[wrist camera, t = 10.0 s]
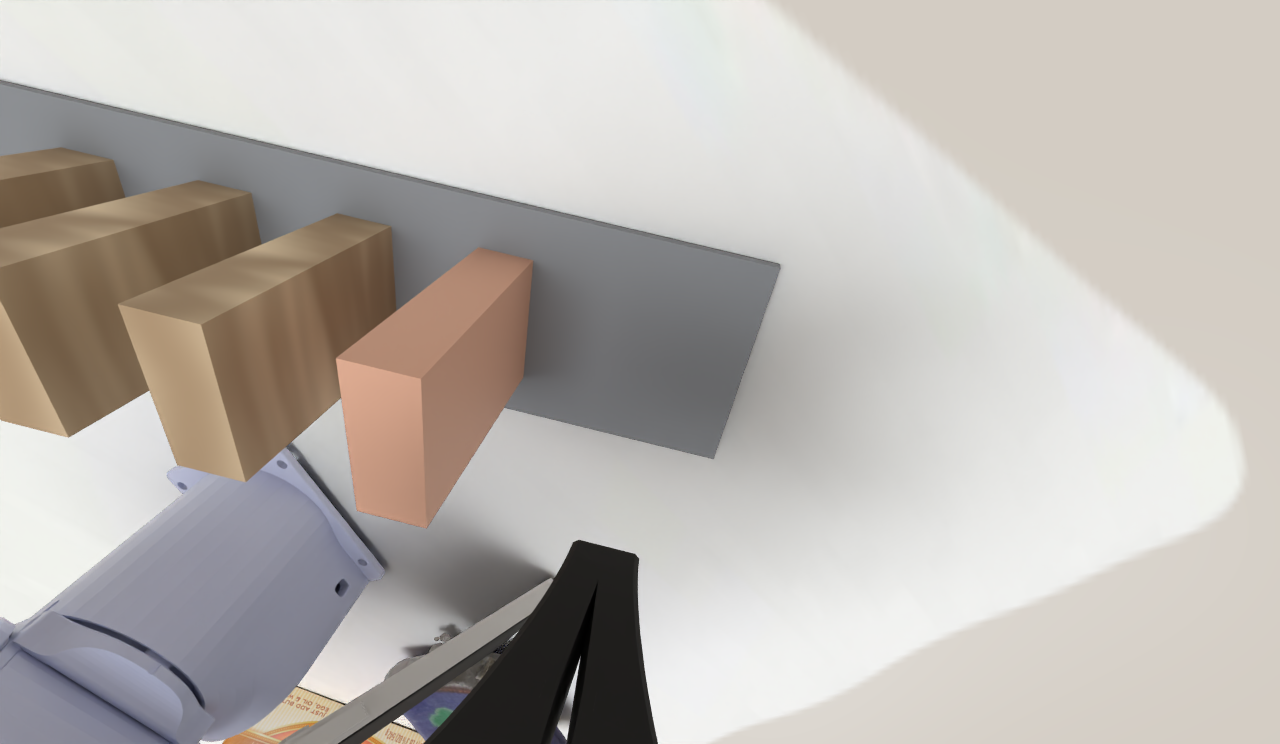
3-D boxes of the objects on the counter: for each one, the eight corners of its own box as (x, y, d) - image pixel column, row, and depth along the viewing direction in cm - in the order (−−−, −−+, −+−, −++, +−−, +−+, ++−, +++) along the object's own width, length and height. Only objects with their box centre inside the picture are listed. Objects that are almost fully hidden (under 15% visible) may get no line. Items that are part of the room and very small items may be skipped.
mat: (779, 264, 18) (780, 268, 18) (713, 453, 22) (713, 459, 22) (-153, 44, 19) (-169, 44, 19) (-36, 268, 23) (-48, 271, 23)
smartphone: (495, 650, 32) (174, 874, 19) (485, 632, 32) (163, 840, 20) (566, 591, 28) (219, 824, 16) (553, 570, 28) (205, 783, 16)
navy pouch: (440, 776, 35) (356, 673, 31) (461, 729, 38) (386, 628, 34) (565, 782, 33) (492, 670, 28) (579, 731, 35) (514, 621, 31)
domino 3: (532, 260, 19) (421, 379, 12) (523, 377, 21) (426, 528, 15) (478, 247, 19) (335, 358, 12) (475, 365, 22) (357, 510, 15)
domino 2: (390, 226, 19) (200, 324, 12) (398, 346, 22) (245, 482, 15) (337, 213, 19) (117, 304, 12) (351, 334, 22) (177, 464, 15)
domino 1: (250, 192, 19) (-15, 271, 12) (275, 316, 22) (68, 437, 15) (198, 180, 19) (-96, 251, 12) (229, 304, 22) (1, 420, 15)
